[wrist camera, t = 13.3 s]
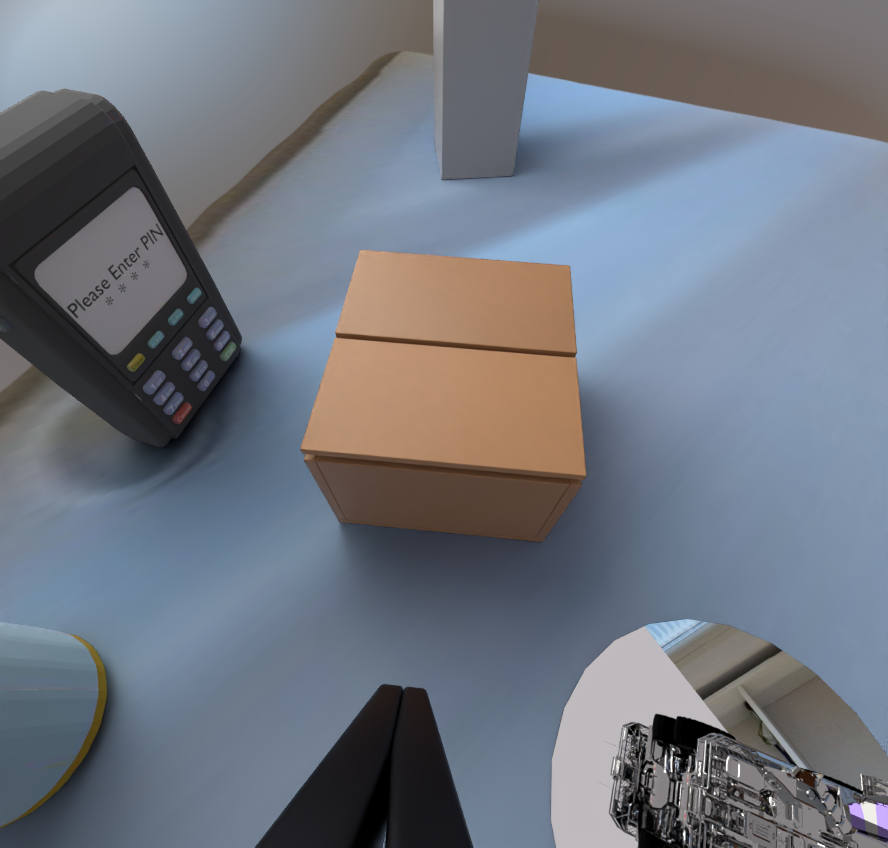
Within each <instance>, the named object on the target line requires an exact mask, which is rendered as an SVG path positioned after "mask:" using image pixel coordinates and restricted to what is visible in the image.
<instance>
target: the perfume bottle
mask: <svg viewBox="0 0 888 848" xmlns="http://www.w3.org/2000/svg"><path fill="white" fill-rule="evenodd" d="M538 3H539V0H434V143H435V148H436V153H437V158H438V163H439V168H440V173H441V178H442V180H445V179H464V178H483V177H502V176H513V172H514V166H515V159H516V152H517V145H518V139H519V132H520V125H521V118H522V111H523V105H524V98H525V91H526V84H527V78H528V71H529V64H530V57H531V50H532V44H533V37H534V30H535V23H536V17H537V9H538Z"/></svg>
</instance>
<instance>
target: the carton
mask: <svg viewBox="0 0 888 848" xmlns="http://www.w3.org/2000/svg"><path fill="white" fill-rule="evenodd" d="M335 334H336V337H337V338H343V339H355V340H367V341H379V342H391V343H403V344H415V345H427V346H439V347H451V348H463V349H475V350H487V351H499V352H511V353H523V354H535V355H547V356H559V357H571V358H575V356H576V353H577V349H576V336H575V323H574V310H573V297H572V285H571V272H570V266H568V265H554V264H541V263H528V262H514V261H501V260H488V259H475V258H461V257H448V256H435V255H422V254H408V253H395V252H382V251H368V250H360V252H359V256H358V259H357V262H356V266H355V269H354V272H353V276H352V279H351V282H350V286H349V289H348V292H347V295H346V299H345V302H344V305H343V309H342V312H341V315H340V319H339V322H338V325H337V329H336V332H335ZM304 461H305V463H306V465H307V467H308V468H309V470H310V472H311V474H312V475H313V477H314V479H315V481H316V482H317V484H318V486H319V487H320V489H321V491H322V493H323V494H324V496H325V498H326V500H327V501H328V503H329V505H330V507H331V508H332V510H333V512H334V514H335V515H336V517H337V519H338V521H339V522H344V523H354V524H364V525H374V526H384V527H394V528H404V529H414V530H424V531H434V532H444V533H454V534H464V535H474V536H484V537H495V538H505V539H515V540H525V541H535V542H543V540H544V539H545V538H546V536H547V535H548V533H549V532H550V531H551V529H552V528H553V526H554V525H555V523H556V522H557V521H558V519H559V518H560V516H561V515H562V514H563V512H564V511H565V509H566V508H567V507H568V505H569V504H570V502H571V501H572V499H573V498H574V497H575V495H576V494H577V492H578V491H579V490H580V488H581V487H582V482H581V480H577V479H566V478H555V477H545V476H534V475H523V474H513V473H502V472H491V471H481V470H470V469H459V468H449V467H438V466H427V465H417V464H406V463H395V462H384V461H374V460H363V459H352V458H342V457H331V456H320V455H310V454H305V458H304Z"/></svg>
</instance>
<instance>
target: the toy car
mask: <svg viewBox="0 0 888 848" xmlns="http://www.w3.org/2000/svg"><path fill="white" fill-rule="evenodd" d="M551 823H552V828H553V833H554V839H555V844H556V848H888V756H887V755H886V753H885V752H884V750H883V749H882V748H881V746H880V745H879V744H878V742H877V741H876V740H875V738H874V737H873V735H872V734H871V733H870V731H869V730H868V729H867V727H866V726H865V725H864V723H863V722H862V721H861V719H860V718H859V716H858V715H857V714H856V713H855V712H854V711H853V710H852V709H851V708H850V707H849V706H848V705H847V704H846V703H845V702H844V701H843V700H842V699H841V698H840V697H839V696H838V695H837V694H836V693H835V692H834V691H833V690H832V689H831V688H830V687H829V686H828V685H827V684H826V683H825V682H824V681H823V680H822V679H821V678H820V677H819V676H818V675H817V674H816V673H814V672H813V671H812V670H810V669H809V668H807V667H806V666H804V665H803V664H801V663H800V662H798V661H797V660H795V659H794V658H792V657H791V656H789V655H788V654H787V653H785V652H784V651H782V650H781V649H779V648H778V647H776V646H775V645H773V644H772V643H770V642H767V641H765V640H762V639H760V638H758V637H755V636H753V635H750V634H748V633H745V632H743V631H741V630H738V629H736V628H733V627H731V626H729V625H722V624H716V623H709V622H703V621H696V620H690V619H684V620H677V621H669V622H661V623H654V624H648V625H646V626H644V627H642V628H640V629H638V630H636V631H634V632H631V633H629V634H627V635H625V636H623V637H621V638H619V639H617V640H615V641H614V642H613V643H612V644H611V645H610V646H609V647H607V648H606V649H605V650H604V651H603V652H602V653H601V654H600V655H599V656H598V657H597V658H596V659H595V660H594V661H593V662H592V663H591V664H590V665H589V666H588V667H587V668H586V669H585V671H584V673H583V675H582V677H581V678H580V680H579V682H578V684H577V686H576V688H575V689H574V691H573V693H572V695H571V697H570V699H569V701H568V702H567V704H566V706H565V708H564V711H563V716H562V720H561V724H560V728H559V732H558V736H557V740H556V745H555V749H554V753H553V757H552V790H551Z"/></svg>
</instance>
